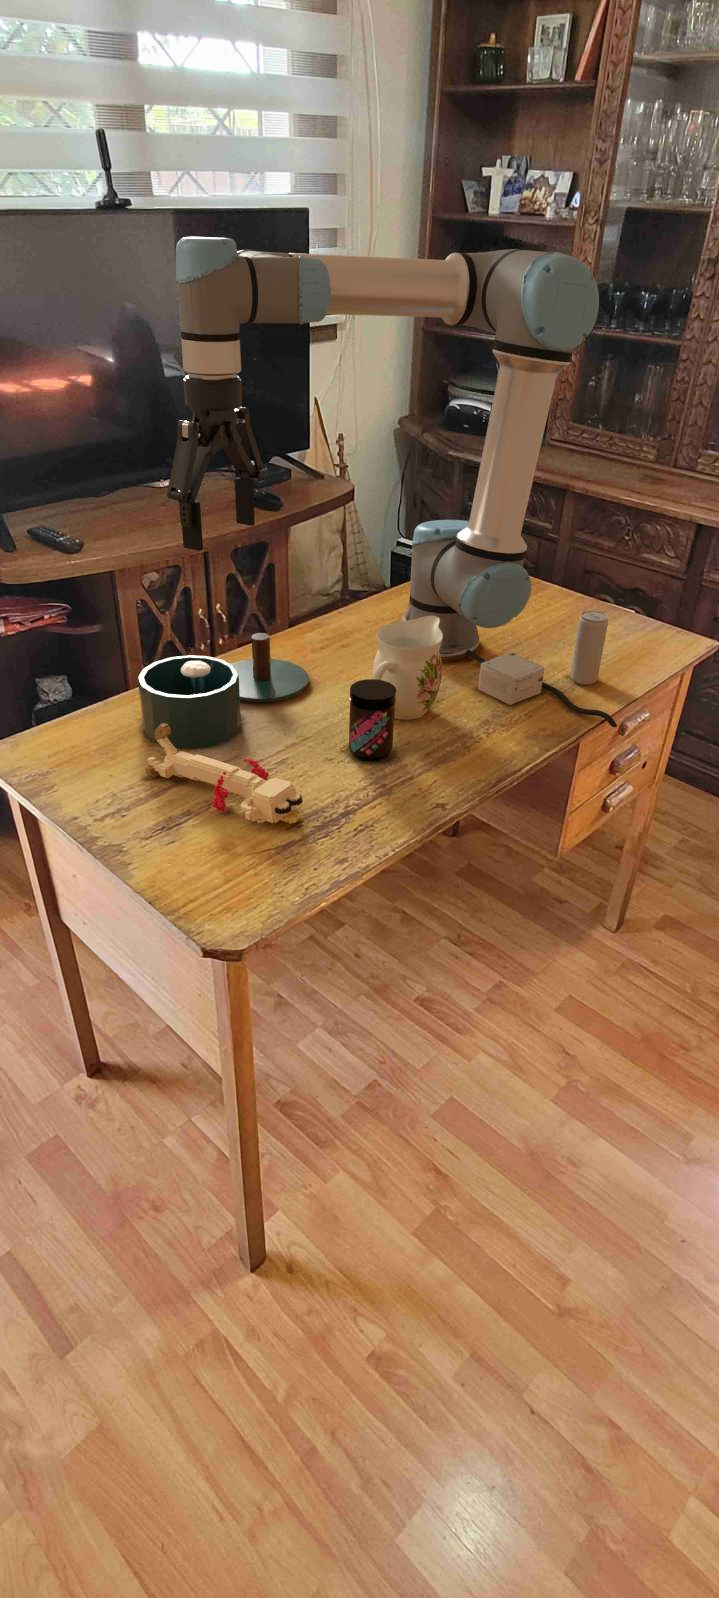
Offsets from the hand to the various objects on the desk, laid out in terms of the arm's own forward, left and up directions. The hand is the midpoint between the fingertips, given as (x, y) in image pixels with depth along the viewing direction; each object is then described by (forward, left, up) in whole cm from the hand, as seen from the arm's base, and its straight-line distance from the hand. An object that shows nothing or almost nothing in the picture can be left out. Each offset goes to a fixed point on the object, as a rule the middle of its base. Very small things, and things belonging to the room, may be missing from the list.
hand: (220, 535), depth 133 cm
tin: (+3, +6, -29) cm, 29 cm away
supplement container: (-25, 0, -29) cm, 38 cm away
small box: (-37, -30, -29) cm, 56 cm away
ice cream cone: (+3, +4, -28) cm, 29 cm away
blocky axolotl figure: (-13, +21, -29) cm, 38 cm away
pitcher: (-24, -14, -29) cm, 40 cm away
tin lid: (+1, -12, -28) cm, 31 cm away
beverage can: (-47, -41, -29) cm, 69 cm away
